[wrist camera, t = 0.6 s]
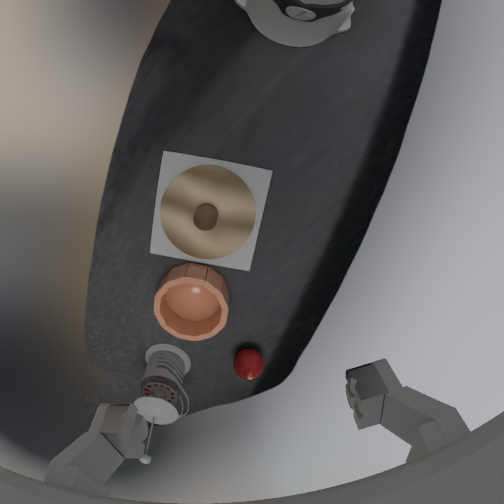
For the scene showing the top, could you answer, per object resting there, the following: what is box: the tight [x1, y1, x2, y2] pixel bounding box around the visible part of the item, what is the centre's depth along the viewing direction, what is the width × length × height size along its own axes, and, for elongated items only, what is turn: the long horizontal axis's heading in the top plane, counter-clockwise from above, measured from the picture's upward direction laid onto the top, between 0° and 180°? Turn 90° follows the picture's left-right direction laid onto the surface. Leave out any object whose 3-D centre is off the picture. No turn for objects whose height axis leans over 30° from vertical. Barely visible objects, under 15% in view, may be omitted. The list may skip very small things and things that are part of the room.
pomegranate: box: [233, 349, 264, 380], centre depth 54 cm, size 6×6×8 cm
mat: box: [150, 151, 273, 271], centre depth 47 cm, size 17×17×1 cm
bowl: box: [154, 262, 229, 341], centre depth 50 cm, size 12×12×6 cm
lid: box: [160, 165, 256, 259], centre depth 45 cm, size 15×15×4 cm
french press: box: [134, 344, 191, 464], centre depth 47 cm, size 10×12×25 cm
